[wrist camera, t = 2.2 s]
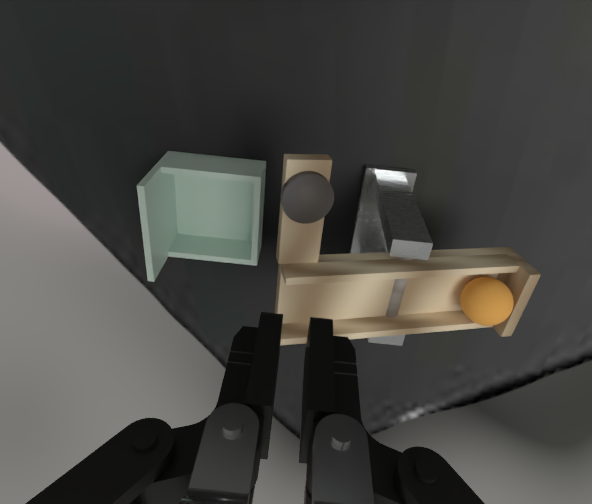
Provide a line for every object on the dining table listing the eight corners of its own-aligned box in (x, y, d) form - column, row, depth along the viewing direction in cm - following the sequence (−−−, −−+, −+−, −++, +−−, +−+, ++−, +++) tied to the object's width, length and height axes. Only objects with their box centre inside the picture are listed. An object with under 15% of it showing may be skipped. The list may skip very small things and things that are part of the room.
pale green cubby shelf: (168, 150, 35) (136, 185, 29) (266, 161, 35) (254, 198, 29) (174, 235, 39) (147, 280, 33) (261, 244, 39) (250, 291, 33)
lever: (267, 321, 29) (276, 358, 26) (279, 152, 23) (292, 178, 20) (483, 305, 33) (510, 337, 30) (545, 156, 26) (587, 178, 24)
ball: (460, 267, 29) (483, 297, 26) (504, 267, 29) (531, 297, 27) (446, 304, 30) (467, 336, 28) (488, 304, 31) (513, 335, 28)
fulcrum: (347, 259, 40) (355, 345, 30) (365, 164, 35) (380, 232, 26) (391, 263, 40) (412, 351, 30) (415, 169, 35) (448, 239, 26)
